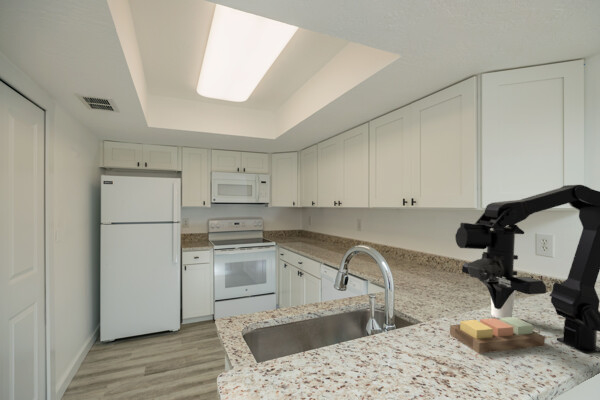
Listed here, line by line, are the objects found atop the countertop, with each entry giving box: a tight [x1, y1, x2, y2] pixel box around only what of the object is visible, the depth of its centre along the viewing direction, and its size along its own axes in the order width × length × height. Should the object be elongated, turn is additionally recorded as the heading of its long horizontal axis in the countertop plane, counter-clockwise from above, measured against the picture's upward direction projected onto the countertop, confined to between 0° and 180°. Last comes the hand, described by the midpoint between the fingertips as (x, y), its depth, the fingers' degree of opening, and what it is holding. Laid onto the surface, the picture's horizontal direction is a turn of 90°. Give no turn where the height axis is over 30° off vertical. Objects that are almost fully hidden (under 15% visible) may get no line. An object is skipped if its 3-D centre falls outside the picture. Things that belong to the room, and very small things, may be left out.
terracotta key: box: [479, 317, 513, 337], centre depth 70 cm, size 5×5×3 cm
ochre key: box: [460, 319, 493, 339], centre depth 69 cm, size 5×5×3 cm
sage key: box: [499, 316, 534, 335], centre depth 72 cm, size 5×5×3 cm
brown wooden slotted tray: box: [449, 324, 546, 354], centre depth 70 cm, size 21×9×2 cm, turn 103°
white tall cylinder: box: [490, 274, 518, 320], centre depth 84 cm, size 7×7×15 cm
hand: (497, 308), depth 70 cm, fingers closed
